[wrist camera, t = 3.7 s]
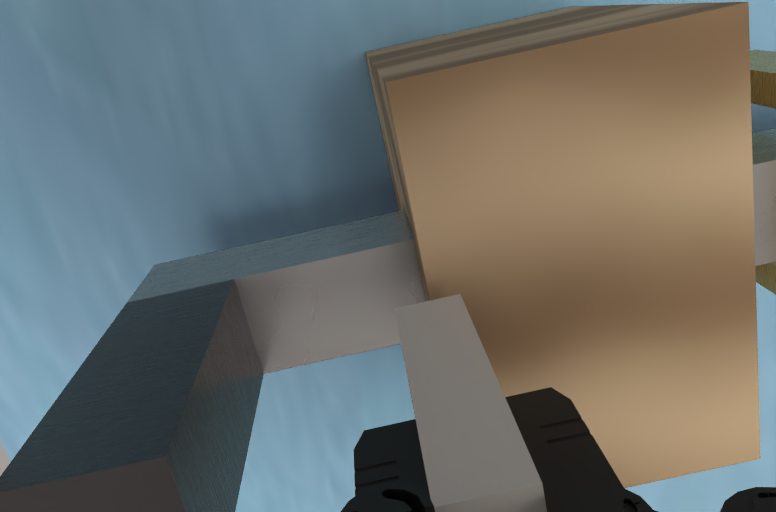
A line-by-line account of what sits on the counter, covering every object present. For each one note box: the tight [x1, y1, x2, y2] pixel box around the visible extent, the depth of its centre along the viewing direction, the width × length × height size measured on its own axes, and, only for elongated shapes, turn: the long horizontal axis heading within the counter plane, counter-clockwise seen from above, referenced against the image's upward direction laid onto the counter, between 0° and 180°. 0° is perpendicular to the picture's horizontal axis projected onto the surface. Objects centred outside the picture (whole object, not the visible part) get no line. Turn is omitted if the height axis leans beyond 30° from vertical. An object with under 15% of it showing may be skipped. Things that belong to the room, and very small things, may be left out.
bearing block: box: [365, 2, 760, 488], centre depth 23 cm, size 12×8×12 cm, turn 12°
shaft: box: [0, 128, 776, 512], centre depth 17 cm, size 3×25×11 cm, turn 102°
